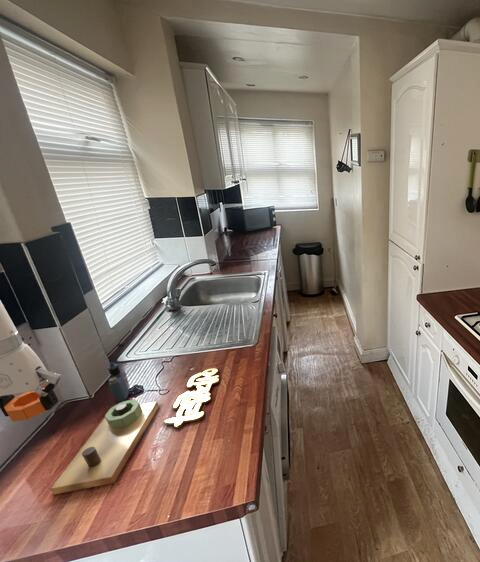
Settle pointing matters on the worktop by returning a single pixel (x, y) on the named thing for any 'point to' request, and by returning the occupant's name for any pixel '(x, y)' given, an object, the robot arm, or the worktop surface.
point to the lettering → (194, 398)
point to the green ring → (124, 419)
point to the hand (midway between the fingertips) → (33, 408)
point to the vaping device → (117, 383)
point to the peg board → (104, 452)
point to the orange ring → (24, 406)
